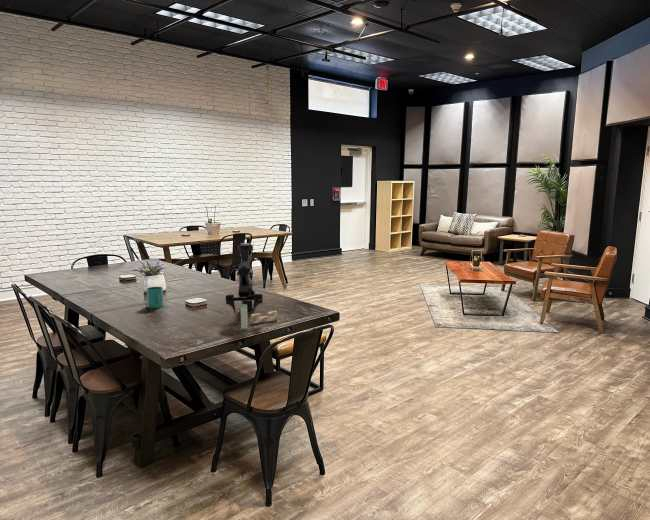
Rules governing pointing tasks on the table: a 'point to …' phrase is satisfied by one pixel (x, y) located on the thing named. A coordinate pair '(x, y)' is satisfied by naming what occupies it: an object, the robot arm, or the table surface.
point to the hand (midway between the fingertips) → (244, 313)
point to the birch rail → (258, 319)
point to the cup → (155, 297)
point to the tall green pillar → (244, 316)
